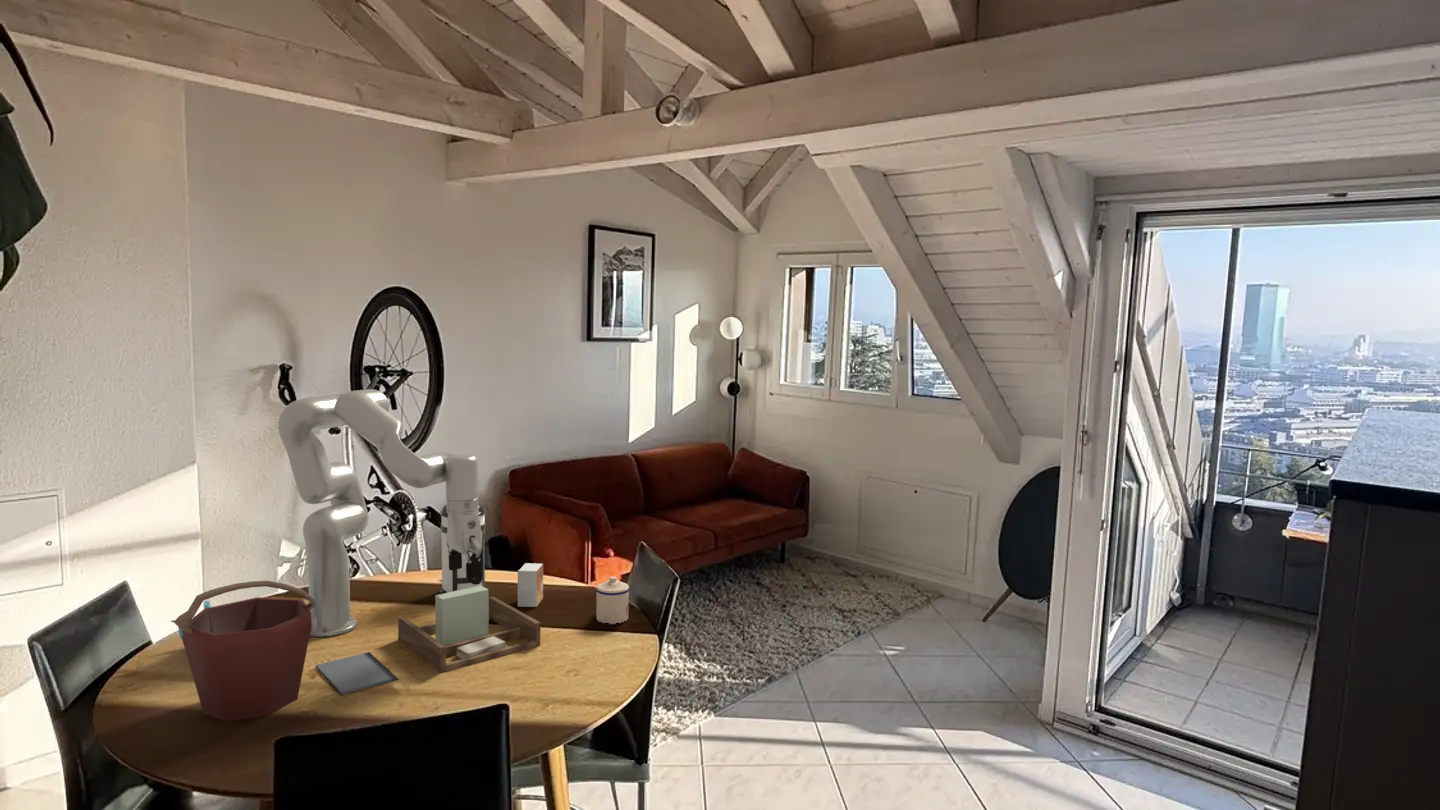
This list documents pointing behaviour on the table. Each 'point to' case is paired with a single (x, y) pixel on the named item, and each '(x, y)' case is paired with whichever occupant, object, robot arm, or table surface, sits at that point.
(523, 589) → the small box
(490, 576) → the table surface
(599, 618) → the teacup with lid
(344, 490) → the robot arm
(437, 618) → the pale green block
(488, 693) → the table surface
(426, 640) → the rack
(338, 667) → the mat
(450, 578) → the coffee press
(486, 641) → the offcut upper
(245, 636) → the bucket
